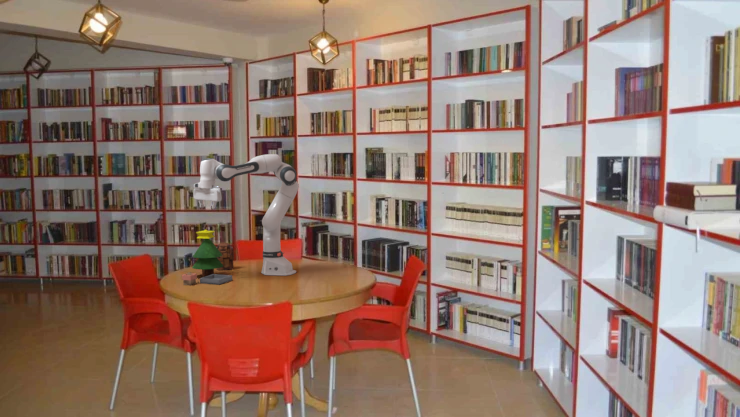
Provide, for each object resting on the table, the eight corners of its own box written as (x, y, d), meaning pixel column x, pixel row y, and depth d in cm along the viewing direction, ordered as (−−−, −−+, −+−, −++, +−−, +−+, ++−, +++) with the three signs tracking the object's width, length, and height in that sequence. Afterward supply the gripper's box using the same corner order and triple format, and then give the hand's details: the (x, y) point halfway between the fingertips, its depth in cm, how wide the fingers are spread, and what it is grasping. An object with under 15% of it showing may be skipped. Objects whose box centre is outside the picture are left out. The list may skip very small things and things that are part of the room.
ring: (196, 278, 359) (196, 273, 359) (190, 280, 353) (190, 275, 353) (188, 278, 361) (188, 273, 361) (182, 279, 355) (181, 274, 355)
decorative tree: (215, 279, 370) (213, 231, 367) (186, 278, 374) (185, 230, 371) (228, 273, 389) (227, 227, 386) (201, 272, 392) (199, 227, 390)
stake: (195, 283, 359) (195, 272, 358) (190, 285, 354) (190, 273, 354) (188, 283, 361) (188, 271, 360) (183, 284, 356) (183, 273, 355)
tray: (232, 280, 368) (232, 275, 368) (219, 284, 355) (219, 279, 355) (213, 278, 372) (213, 274, 372) (200, 283, 360) (199, 278, 360)
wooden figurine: (215, 270, 400) (214, 243, 398) (216, 269, 406) (215, 242, 404) (233, 270, 401) (232, 243, 400) (234, 268, 408) (233, 241, 406)
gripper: (224, 186, 361) (223, 209, 363) (199, 183, 371) (199, 206, 373) (216, 186, 356) (216, 209, 357) (191, 184, 366) (191, 207, 367)
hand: (207, 208), depth 365 cm, fingers open, 8 cm apart
